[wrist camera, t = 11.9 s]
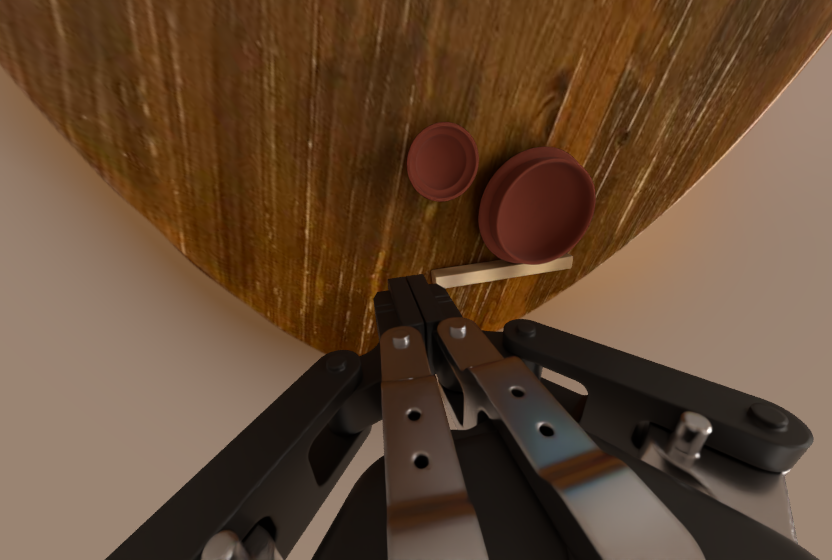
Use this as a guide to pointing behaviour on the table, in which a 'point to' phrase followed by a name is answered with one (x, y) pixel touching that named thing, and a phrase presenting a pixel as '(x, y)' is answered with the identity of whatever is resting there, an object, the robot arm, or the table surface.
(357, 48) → the table surface
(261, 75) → the table surface
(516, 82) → the table surface
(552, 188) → the pottery
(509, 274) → the rail
